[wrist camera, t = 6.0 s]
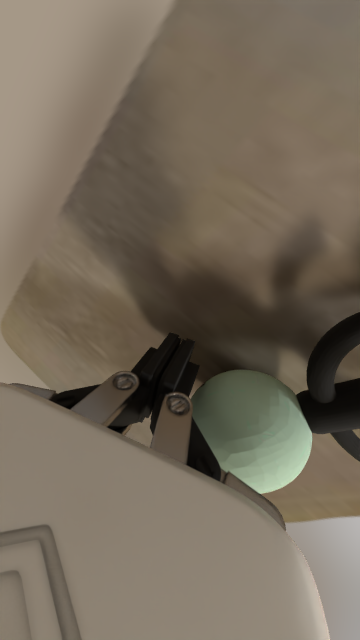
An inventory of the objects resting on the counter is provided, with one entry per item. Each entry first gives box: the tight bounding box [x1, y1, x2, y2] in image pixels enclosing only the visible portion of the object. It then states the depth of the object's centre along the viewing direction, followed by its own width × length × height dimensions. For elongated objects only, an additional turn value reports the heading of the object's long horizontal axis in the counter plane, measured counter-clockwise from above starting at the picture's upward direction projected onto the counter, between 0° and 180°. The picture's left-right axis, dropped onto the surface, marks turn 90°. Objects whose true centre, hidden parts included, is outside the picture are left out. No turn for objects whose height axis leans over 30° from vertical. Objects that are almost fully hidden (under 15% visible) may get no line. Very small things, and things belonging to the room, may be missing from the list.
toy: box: [191, 312, 360, 494], centre depth 10 cm, size 10×6×15 cm
